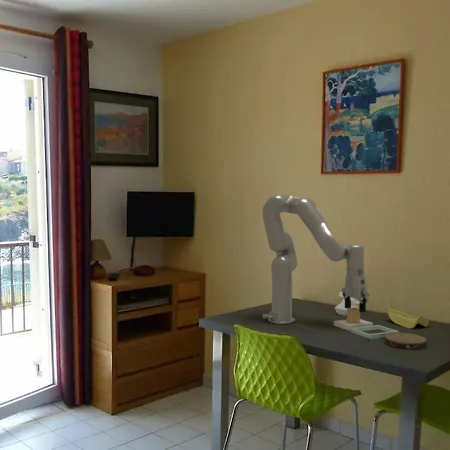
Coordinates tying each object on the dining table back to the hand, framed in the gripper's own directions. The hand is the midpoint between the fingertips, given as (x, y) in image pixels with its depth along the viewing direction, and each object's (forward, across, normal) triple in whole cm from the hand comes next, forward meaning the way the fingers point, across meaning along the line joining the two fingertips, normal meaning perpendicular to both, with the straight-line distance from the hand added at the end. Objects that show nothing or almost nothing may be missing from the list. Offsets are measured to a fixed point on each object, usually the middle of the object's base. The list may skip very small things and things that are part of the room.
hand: (355, 310), depth 238 cm
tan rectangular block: (+7, +1, 0) cm, 8 cm away
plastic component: (+10, -2, -30) cm, 31 cm away
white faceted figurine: (+9, +25, -16) cm, 31 cm away
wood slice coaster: (+10, -28, -1) cm, 30 cm away
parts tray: (+9, -13, +1) cm, 16 cm away
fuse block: (+8, +1, +1) cm, 9 cm away
